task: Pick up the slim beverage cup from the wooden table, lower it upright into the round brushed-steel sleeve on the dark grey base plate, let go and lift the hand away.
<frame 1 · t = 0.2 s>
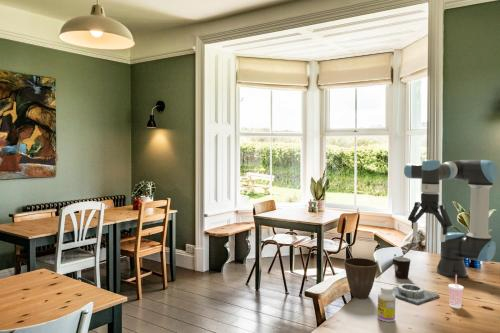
hand: (428, 238, 180), 28 cm above the table, tool pointing down, fingers open, 13 cm apart
supplement bottle: (386, 319, 156), on the table
plant pot: (359, 296, 181), on the table
sleeve block: (410, 294, 184), on the table
coffee mug: (401, 276, 213), on the table
beverage cup: (455, 306, 171), on the table
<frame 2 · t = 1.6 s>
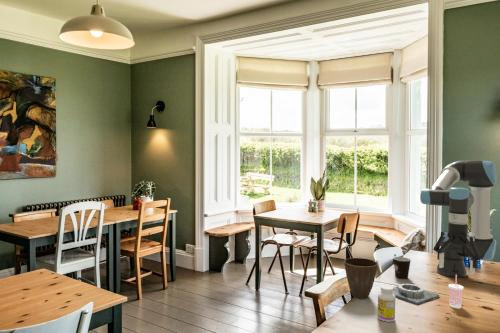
hand: (456, 271, 170), 16 cm above the table, tool pointing down, fingers open, 13 cm apart
nothing on the table moved.
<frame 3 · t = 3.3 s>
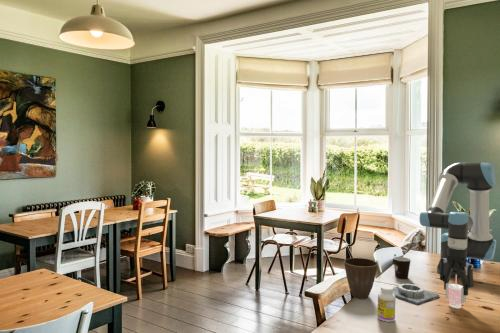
hand: (455, 299, 171), 3 cm above the table, tool pointing down, fingers closed on beverage cup, 6 cm apart
beverage cup: (455, 306, 171), on the table, touching gripper
everything else where it was.
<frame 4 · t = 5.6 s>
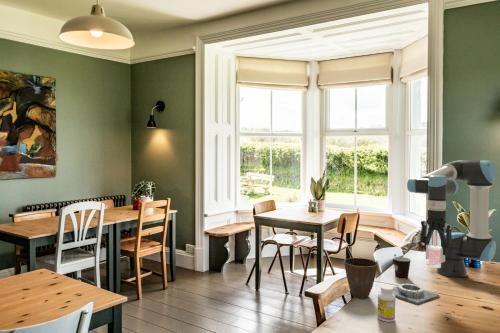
hand: (435, 260, 177), 19 cm above the table, tool pointing down, fingers closed on beverage cup, 6 cm apart
beverage cup: (435, 267, 177), point 16 cm above the table, touching gripper
everything else where it was.
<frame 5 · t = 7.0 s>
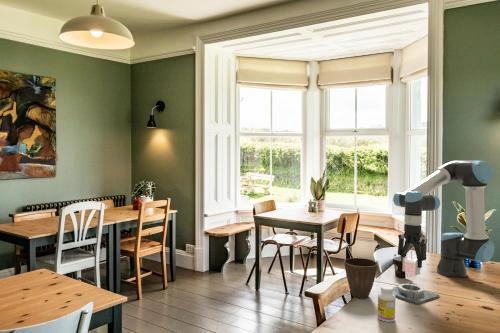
hand: (411, 272, 184), 11 cm above the table, tool pointing down, fingers closed on beverage cup, 6 cm apart
beverage cup: (410, 279, 184), point 8 cm above the table, touching gripper
everything else where it was.
when the fingers open (5 cm above the table, at t = 8.2 s): beverage cup drops 1 cm, resting on sleeve block.
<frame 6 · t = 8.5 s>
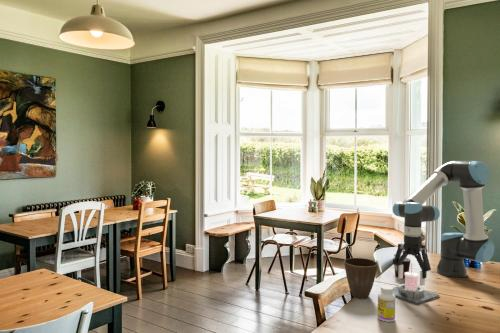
hand: (411, 281, 184), 6 cm above the table, tool pointing down, fingers open, 10 cm apart
beverage cup: (410, 293, 184), point 1 cm above the table, touching sleeve block
everything else where it was.
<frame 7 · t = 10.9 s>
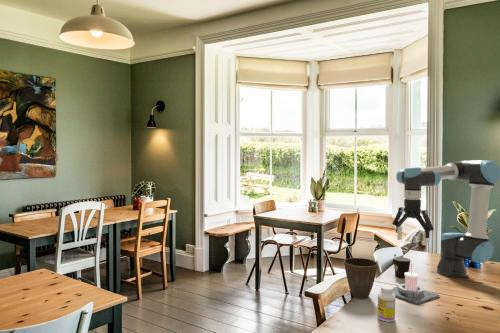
hand: (412, 242, 190), 24 cm above the table, tool pointing down, fingers open, 13 cm apart
nothing on the table moved.
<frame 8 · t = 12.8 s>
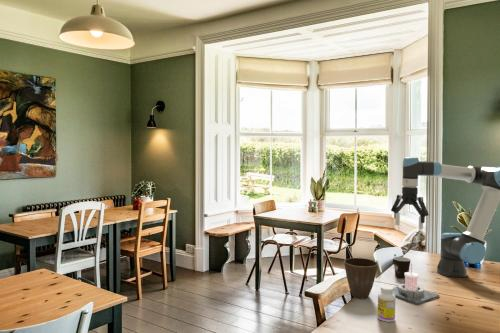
hand: (408, 227, 204), 29 cm above the table, tool pointing down, fingers open, 13 cm apart
nothing on the table moved.
at the end: beverage cup 0.0 cm off-centre on the sleeve block, point 0.8 cm above the sleeve block's base; beverage cup tilted 0°; the gripper is holding nothing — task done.
